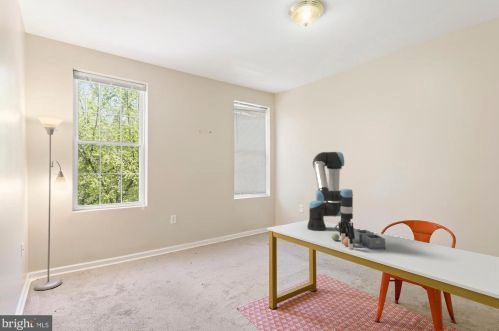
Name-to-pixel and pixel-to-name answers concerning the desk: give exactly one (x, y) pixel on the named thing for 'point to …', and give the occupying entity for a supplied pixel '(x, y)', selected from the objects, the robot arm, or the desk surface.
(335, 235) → the olive ball
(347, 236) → the coffee mug
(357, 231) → the grey square bin
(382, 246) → the grey open box
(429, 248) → the desk surface
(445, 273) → the desk surface
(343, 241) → the rust ball
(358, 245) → the card
